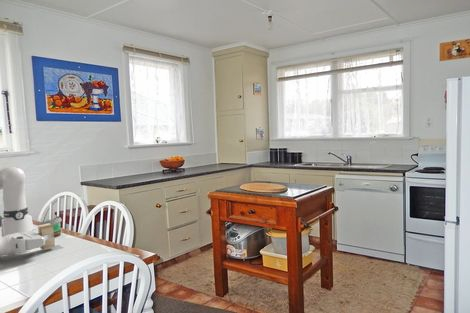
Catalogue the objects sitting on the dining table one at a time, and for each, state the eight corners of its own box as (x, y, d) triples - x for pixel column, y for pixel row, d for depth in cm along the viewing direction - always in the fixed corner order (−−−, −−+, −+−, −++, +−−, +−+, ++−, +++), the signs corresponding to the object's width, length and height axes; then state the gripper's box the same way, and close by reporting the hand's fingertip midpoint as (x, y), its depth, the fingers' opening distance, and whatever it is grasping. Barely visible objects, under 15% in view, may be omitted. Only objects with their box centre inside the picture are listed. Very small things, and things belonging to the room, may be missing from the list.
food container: (52, 240, 181) (50, 222, 180) (42, 240, 182) (40, 222, 181) (68, 233, 193) (66, 215, 192) (58, 233, 194) (56, 215, 193)
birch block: (40, 248, 165) (37, 225, 164) (51, 245, 168) (48, 223, 168) (43, 250, 161) (41, 227, 160) (55, 247, 165) (52, 224, 164)
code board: (24, 248, 171) (24, 247, 171) (49, 241, 180) (49, 240, 180) (37, 255, 158) (37, 255, 158) (64, 248, 167) (64, 247, 167)
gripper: (9, 245, 162) (41, 237, 172) (23, 254, 148) (57, 244, 159) (8, 232, 162) (40, 225, 172) (21, 240, 148) (55, 231, 158)
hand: (48, 234), depth 165 cm, fingers closed on birch block, 5 cm apart
